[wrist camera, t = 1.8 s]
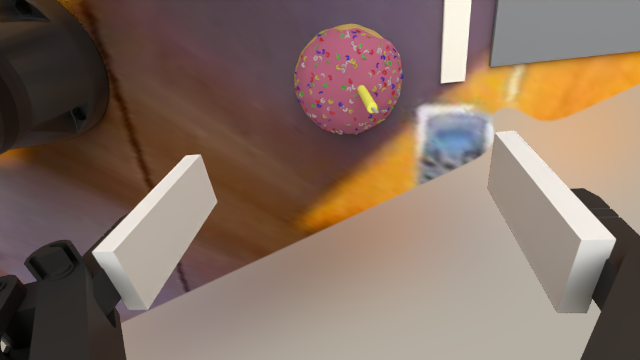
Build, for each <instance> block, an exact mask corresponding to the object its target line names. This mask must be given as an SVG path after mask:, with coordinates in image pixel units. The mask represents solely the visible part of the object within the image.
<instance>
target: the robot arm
mask: <svg viewBox="0 0 640 360" xmlns="http://www.w3.org/2000/svg"><path fill="white" fill-rule="evenodd" d="M108 95H109V89H108V79H107V75H106V71H105V67H104V64H103V61H102V59H101V57H100V54H99V52H98V50H97V48H96V47H95V45H94V43H93V41H92V40H91V38H90V37H89V35H88V34H87V32H86V31H85V29H84V28H83V27H82V26H81V24H80V23H79V22H78V21H77V20H76V19H75V17H74V16H73V15H72V14H71V13H70V12H69V11H68V10H67V9H66V8H64V7H63V6H62V5H61V4H60V3H59V2H57V1H56V0H0V154H2V153H4V152H6V151H8V150H11V149H18V148H24V147H31V146H37V145H44V144H50V143H57V142H62V141H66V140H69V139H72V138H74V137H77V136H78V135H80V134H82V133H83V132H85V131H87V130H89V129H90V128H92V127H93V126H95V125H96V124H97V123H98V122H99V120H100V119H101V118H102V116H103V114H104V112H105V110H106V107H107V103H108ZM488 180H489V181H488V187H487V188H488V190H489V192H490V194H491V196H492V198H493V199H494V201H495V203H496V205H497V207H498V208H499V210H500V212H501V214H502V215H503V217H504V219H505V221H506V223H507V224H508V226H509V228H510V230H511V232H512V233H513V235H514V237H515V239H516V240H517V242H518V244H519V246H520V248H521V249H522V251H523V253H524V255H525V256H526V258H527V260H528V262H529V263H530V265H531V267H532V269H533V271H534V273H535V274H536V276H537V278H538V279H539V282H540V283H541V285H542V287H543V289H544V291H545V292H546V294H547V296H548V298H549V299H550V301H551V303H552V305H553V307H554V308H555V310H556V312H557V313H587V311H588V309H589V306H590V304H591V301H592V299H593V300H594V301H595V303H596V304H597V306H598V307H599V308H600V310H601V313H600V316H599V318H598V320H597V323H596V325H595V327H594V330H593V332H592V334H591V336H590V339H589V341H588V343H587V346H586V348H585V351H584V353H583V355H582V357H581V360H640V236H639V235H638V234H637V233H636V232H635V231H634V230H633V229H632V228H631V227H630V226H629V225H628V224H627V223H626V222H625V221H624V220H623V219H622V218H619V217H618V214H617V213H616V212H615V211H613V210H612V209H610V207H609V206H608V205H607V204H606V203H605V202H604V201H603V200H602V199H601V198H600V197H599V196H597V195H595V194H593V193H591V192H589V191H587V190H586V189H583V188H579V189H569V188H568V187H567V186H566V185H565V184H564V183H563V182H562V181H561V179H560V178H559V177H558V176H557V175H556V174H555V173H554V172H553V171H552V170H551V169H550V168H549V167H548V166H547V165H546V163H545V162H544V161H543V160H542V159H541V158H540V157H539V156H538V155H537V154H536V153H535V152H534V151H533V150H532V148H530V146H529V145H528V144H527V143H526V142H525V141H524V140H523V139H522V138H521V137H520V136H519V135H518V133H516V131H505V132H495V135H494V143H493V150H492V157H491V165H490V173H489V179H488ZM216 203H217V200H216V197H215V194H214V191H213V188H212V185H211V183H210V180H209V177H208V174H207V171H206V168H205V166H204V163H203V160H202V157H201V154H200V155H187V156H185V157H184V158H183V159H182V160H181V161H180V162H179V163H178V164H177V165H176V166H175V167H174V168H173V169H172V170H171V171H170V172H169V173H168V174H167V175H166V177H165V178H164V179H163V180H162V181H161V182H160V183H159V184H158V185H157V186H156V187H155V188H154V189H153V190H152V191H151V192H150V193H149V194H148V195H147V196H146V197H145V198H144V199H143V200H142V201H141V202H140V203H139V204H138V205H137V206H136V207H135V208H134V209H133V210H132V211H131V212H129V213H128V214H126V215H125V216H123V217H122V218H120V219H119V220H118V221H117V222H116V223H115V224H114V225H113V226H112V227H111V229H109V230H108V231H107V232H106V233H105V234H104V236H102V237H101V238H100V239H99V240H98V241H97V242H96V243H95V244H94V245H93V246H92V247H91V248H90V249H89V250H88V251H87V252H86V253H85V254H84V255H83V256H82V257H81V256H80V254H79V253H78V251H77V250H76V248H75V247H74V245H73V244H72V242H71V241H69V240H59V241H55V242H52V243H49V244H47V245H45V246H43V247H41V248H39V249H38V250H36V251H35V252H33V253H32V254H31V255H30V256H29V257H28V258H27V259H26V261H25V263H24V265H25V266H26V267H27V268H28V270H29V271H30V272H31V273H32V275H33V276H34V277H35V279H36V280H37V281H36V282H32V283H28V284H24V285H23V284H22V283H21V281H20V280H19V279H18V278H17V277H16V275H6V276H2V277H0V342H1V340H2V341H3V342H4V343H5V344H6V345H7V346H6V348H5V350H4V352H2V350H1V345H0V360H126V354H125V348H124V342H123V335H122V329H121V323H120V316H119V313H118V311H117V310H116V308H115V306H116V305H117V303H118V302H119V301H120V299H122V300H123V302H124V303H125V305H126V307H127V308H128V310H148V309H149V307H150V306H151V304H152V303H153V301H154V299H155V298H156V296H157V295H158V293H159V292H160V290H161V289H162V287H163V285H164V284H165V282H166V281H167V279H168V278H169V276H170V275H171V273H172V271H173V270H174V268H175V267H176V265H177V264H178V262H179V261H180V259H181V257H182V256H183V254H184V253H185V251H186V250H187V248H188V247H189V245H190V243H191V242H192V240H193V239H194V237H195V236H196V234H197V233H198V231H199V229H200V228H201V226H202V225H203V223H204V222H205V220H206V219H207V217H208V215H209V214H210V212H211V211H212V209H213V208H214V206H215V205H216Z"/></svg>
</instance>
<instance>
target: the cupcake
mask: <svg viewBox="0 0 640 360" xmlns="http://www.w3.org/2000/svg"><path fill="white" fill-rule="evenodd" d="M402 78H403V74H402V68H401V60H400V55H399V54H398V52H397V50H396V48H395V47H394V46H393V44H392V43H391V42H390V41H388V40H386V39H384V38H383V37H381V36H380V35H379V34H378V33H377V32H375V31H373V30H371V29H368V28H365V27H363V26H360V25H357V24H344V25H340V26H336V27H334V28H331V29H327V30H323V31H321V32H320V33H319V34H317V35H316V36H315V37H314V38H313V39H312V40H311V41H310V42H309V43H308V44H307V45H306V47H305V48H304V49H303V51H302V52H301V54H300V57H299V60H298V63H297V66H296V69H295V74H294V82H295V91H296V95H297V98H298V102H300V103H301V106H302V108H303V110H304V111H305V113H306V114H307V115H308V116H309V118H310V119H311V120H313V121H314V122H315V123H316V124H317V125H318V126H319V127H321V128H322V129H324V130H327V131H331V132H332V133H334V132H336V133H338V134H340V133H341V134H343V133H346V134H354V133H355V135H357V134H358V133H360V132H363V131H367V130H368V129H370V128H371V127H373V126H375V125H377V124H378V123H380V122H381V121H384V120H385V118H386V117H387V116H388V115H389V114H390V112H391V111H392V110H393V108H394V106H395V104H396V102H397V99H398V97H399V95H400V89H401V83H402ZM356 133H357V134H356ZM341 134H340V135H341Z"/></svg>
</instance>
